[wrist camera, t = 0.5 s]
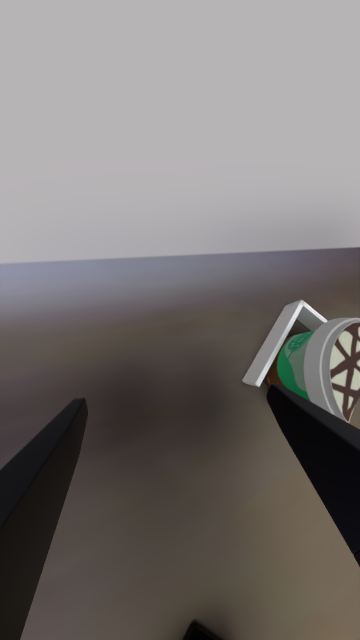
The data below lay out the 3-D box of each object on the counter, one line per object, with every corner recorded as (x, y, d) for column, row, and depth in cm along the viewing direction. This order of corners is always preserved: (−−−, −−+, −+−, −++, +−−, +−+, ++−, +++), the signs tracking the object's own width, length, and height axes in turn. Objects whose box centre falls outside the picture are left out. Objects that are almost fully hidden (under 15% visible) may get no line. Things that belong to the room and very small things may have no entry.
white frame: (325, 338, 28) (346, 336, 26) (288, 417, 25) (308, 425, 22) (285, 305, 28) (301, 299, 25) (241, 380, 24) (255, 384, 21)
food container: (283, 312, 28) (357, 288, 18) (312, 339, 28) (401, 330, 18) (237, 376, 24) (300, 388, 15) (270, 407, 24) (354, 440, 15)
